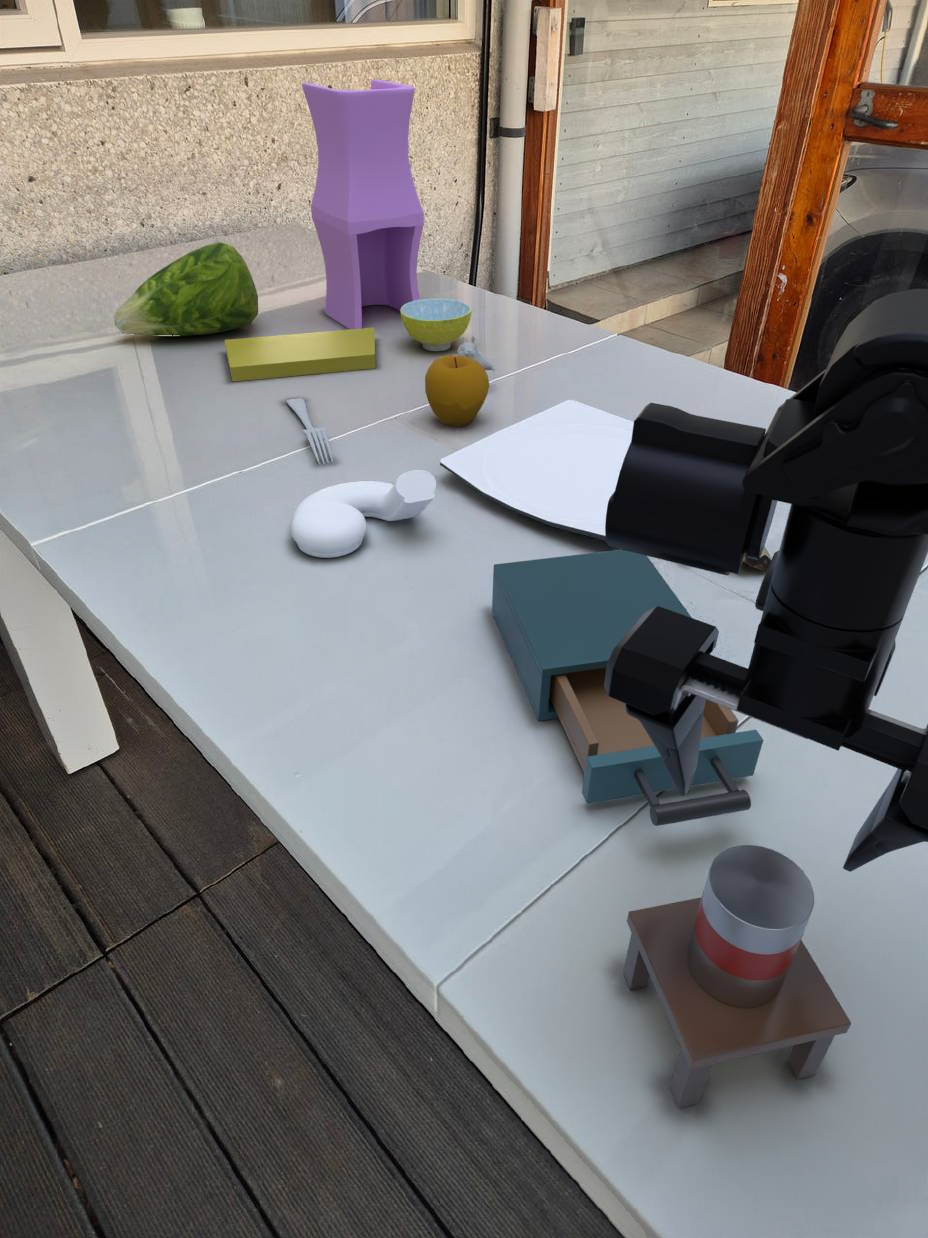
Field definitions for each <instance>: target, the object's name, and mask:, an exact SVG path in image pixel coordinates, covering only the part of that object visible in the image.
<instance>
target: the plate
mask: <svg viewBox="0 0 928 1238" xmlns="http://www.w3.org/2000/svg"><path fill="white" fill-rule="evenodd" d="M633 425H634V420H629V419H627V418H624V417H621V416H618V415H616V414H613V413H610V412H608V411H604V410H601V409H599V408H596V407H593V406H590V405H588V404H585V403H582V402H580V401H577V400H574V399H567V400H564V401H562V402H560V403H558V404H555V405H553V406H552V407H549V408H547V409H545V410H542V411H540V412H539V413H536V414H534V415H531V416H529V417H527V418H525V419H522V420H520V421H518V422H516V423H513V424H511V425H509V426H507V427H505V428H502V429H500V430H498V431H496V432H494V433H492V434H489V435H488V436H486V437H483V438H481V439H480V440H478V441H475V442H474V443H471V444H469V445H467V446H465V447H463V448H460V449H459V450H456V451H454V452H452V453H450V454H448V455H446V456H444V457H442V458H439V466H441V467H442V468H444V469H445V470H446V471H448V472H449V473H451V474H452V475H453V476H455V477H457V479H459V480H461V482H463V483H465V484H467V485H468V486H469V487H471V488H472V489H473V490H475V491H476V492H478V493H479V494H481V495H482V496H484V497H485V498H487V499H489V500H491V501H493V502H495V503H497V504H499V505H500V506H503V507H505V508H507V509H509V510H511V511H513V512H514V513H517V514H520V515H522V516H525V517H527V518H529V519H532V520H534V521H538V522H539V523H542V524H544V525H547V526H549V527H553V528H556V529H560V530H564V531H568V532H572V533H575V534H579V535H581V536H582V535H583V536H586V537H590V538H593V539H594V538H595V539H598V540H602V541H605V542H606V537H605V524H606V513H607V506H608V501H609V499H610V497H611V495H612V494H613V493H614V491H615V489H616V485H617V481H618V477H619V473H620V470H621V467H622V464H623V461H624V458H625V455H626V453H627V450H628V448H629V445H630V443H631V440H632V432H633Z"/></svg>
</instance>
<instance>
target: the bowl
mask: <svg viewBox="0 0 928 1238" xmlns="http://www.w3.org/2000/svg"><path fill="white" fill-rule="evenodd" d="M399 312H400V318H401V321H402V324H403V327H404V329H405V330H406V332H407V334H409V336H411V337H412V338H413V339H414V340H415V341H417V342H419V343H421V344H422V348H423V349H424V350H425V351H430V352H443V351H447V350H449V349H450V348H451V347H452V346H451V344H452V343H453V342H456V341H457V340H459V339H460V338H461V337H462V336H463V335H464V333H465V332H466V330H467V329H468V327H469V326H470V325H469V324H470V322H471V319H472V312H473V309H472V306H471V305H470V304H468V303H466V302H464V301H462V300H457V299H451V298H441V297H440V298H437V297H436V298H433V297H432V298H420V300H415V301H412V302H409V303H406V304H405V305H403V306H402V307H401V309H400V311H399Z"/></svg>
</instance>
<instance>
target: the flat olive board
mask: <svg viewBox="0 0 928 1238" xmlns="http://www.w3.org/2000/svg"><path fill="white" fill-rule="evenodd" d="M375 335H376V334H375V326H374V327H373V326H372V327H362V328H361V329H340V330H339V329H338V330H326V331H325V330H324V331H316V332H315V331H314V332H303V333H292V334H291V333H289V334H279V335H278V334H277V335H266V336H253V337H243V338H242V337H241V338H232V339H224V341H223V342H224V347H225V353H226V358H227V363H228V367H229V371H230V375H231V380H232V382H243V381H254V380H265V379H274V378H275V379H276V378H286V377H297V376H307V375H317V374H319V375H320V374H329V373H340V372H350V371H360V370H371V369H376V337H375Z"/></svg>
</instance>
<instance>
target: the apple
mask: <svg viewBox="0 0 928 1238" xmlns="http://www.w3.org/2000/svg"><path fill="white" fill-rule="evenodd" d="M489 389H490V380H489V376H488V374H487V370H485V369H484V368H483V367H482V366H481V364H480V363H479V362H478V361H476V360H474V359H471V358H468V357H465V356H456V355H442V356H440V357H438V358H437V359H435V360H433V361H432V363H431V364H430V365H429V367H428V368H427V371H426V373H425V376H424V391H425V395H426V398H427V402H428V404H429V407H430V408H431V410H432V412H433V414H434V415H435V417H436V418H437V419H438V421H439V422H441V423H442V424H444V425H447V426H451V427H463V426H465V425H468V424H469V423H471V422H472V421H473V420H474V418H476V417H477V415H478V413H479V412H480V410H481V408H482V406H483V405H484V403H485V401H486V399H487V396H488V393H489Z"/></svg>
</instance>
